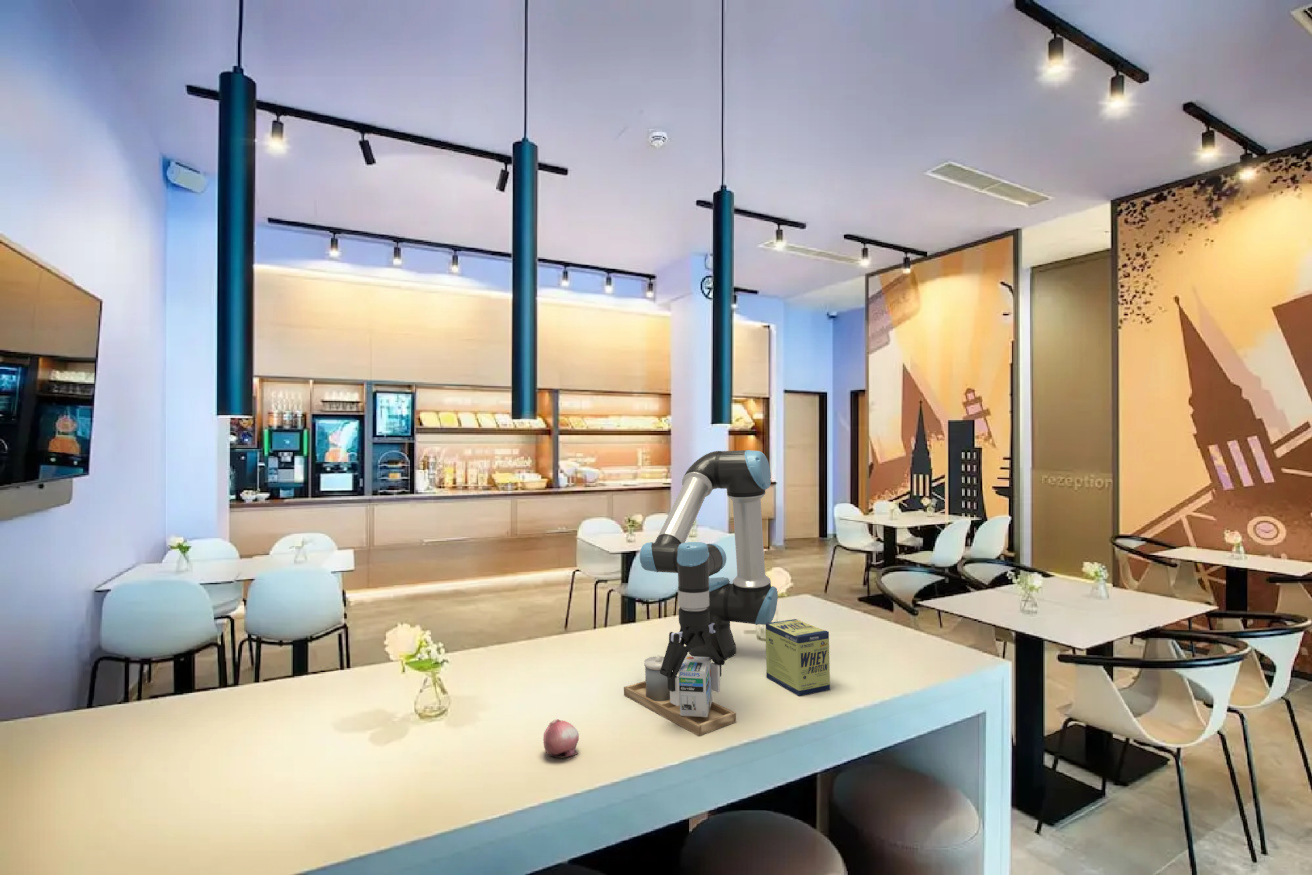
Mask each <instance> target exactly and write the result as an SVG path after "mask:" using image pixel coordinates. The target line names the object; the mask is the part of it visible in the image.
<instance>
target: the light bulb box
mask: <svg viewBox="0 0 1312 875" xmlns="http://www.w3.org/2000/svg"><path fill="white" fill-rule="evenodd" d="M711 663H712V659H711V658H710V657H696V656H692V655H686V657H685V659H684V661H683V663H682V665H681V667H680V669H679V672H678V677H679V694H680V716H695V717H708V713H709V710H710V707H711V703H712V702H713V690H712V681H711Z"/></svg>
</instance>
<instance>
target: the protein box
mask: <svg viewBox="0 0 1312 875" xmlns="http://www.w3.org/2000/svg"><path fill="white" fill-rule="evenodd" d="M829 633H830V632H829V631H828V630H825V629H822V628H820V627H817V626H815V625H812V624H810V623H807V622H804V621H801V620H800V619H797V618H796V619H795V618H793V619H786V620H779V621H772V622H771V623H766V625H765V657H766V658H765V660H766V661H765V662H766V664H765V665H766V666H765V667H766V675H765V676H766V678H767V679H768V680H770V681H772V682H774V683H775V684H777V685H779V686H780V687H782V688H783V689H785V690H787V691H789V692H791V693H793V694H794V695H796V696H797V697H801V696H806V695H810V694H816V693H821V692H826V691H830V690H831V675H830V670H831V669H830V634H829Z"/></svg>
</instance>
